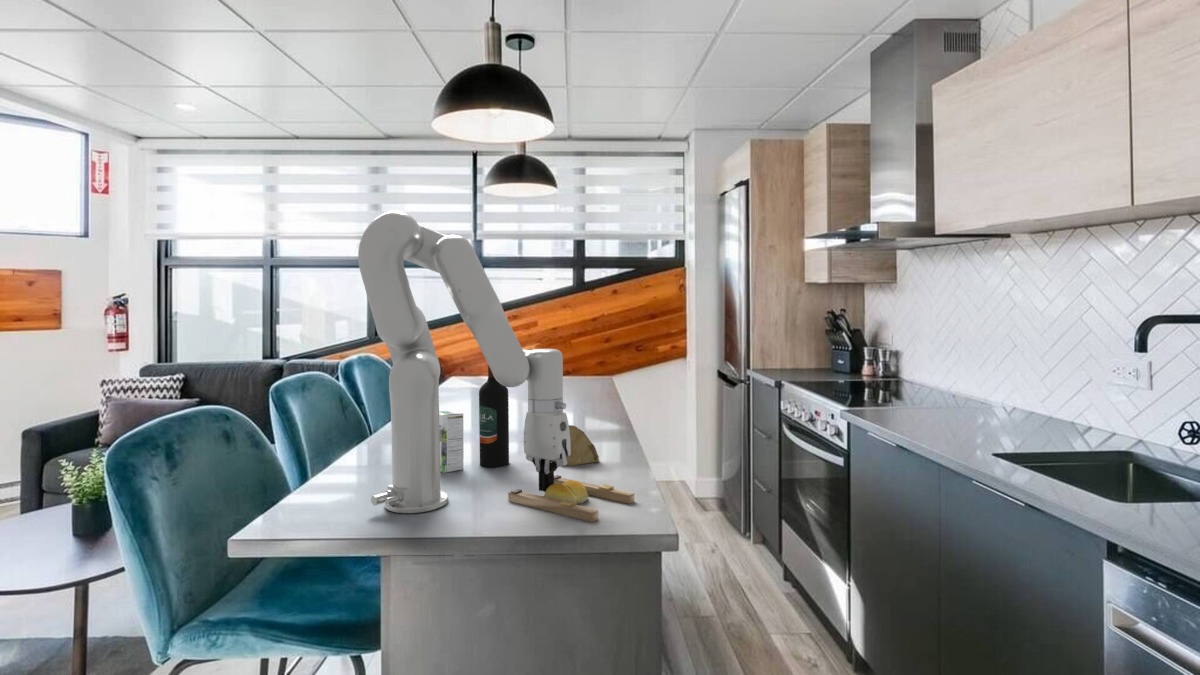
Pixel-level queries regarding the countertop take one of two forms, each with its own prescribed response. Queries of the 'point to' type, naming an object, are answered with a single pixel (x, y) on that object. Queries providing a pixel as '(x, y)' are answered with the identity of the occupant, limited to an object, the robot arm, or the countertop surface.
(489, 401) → the wine bottle
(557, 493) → the bread roll
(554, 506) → the slot rails
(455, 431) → the syrup box
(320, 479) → the countertop surface
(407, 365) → the robot arm
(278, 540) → the countertop surface
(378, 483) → the countertop surface
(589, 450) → the rock
